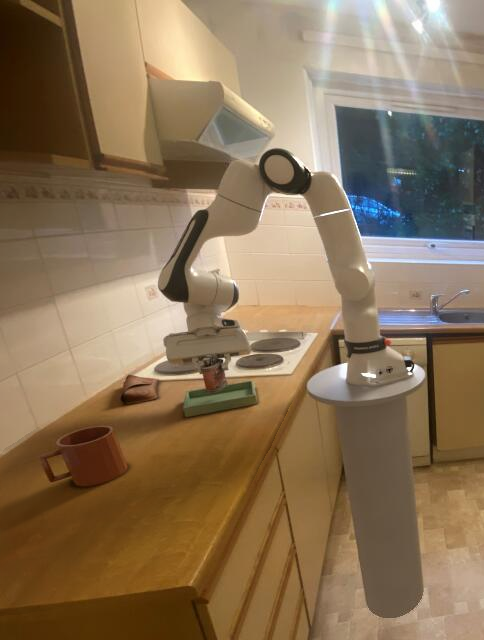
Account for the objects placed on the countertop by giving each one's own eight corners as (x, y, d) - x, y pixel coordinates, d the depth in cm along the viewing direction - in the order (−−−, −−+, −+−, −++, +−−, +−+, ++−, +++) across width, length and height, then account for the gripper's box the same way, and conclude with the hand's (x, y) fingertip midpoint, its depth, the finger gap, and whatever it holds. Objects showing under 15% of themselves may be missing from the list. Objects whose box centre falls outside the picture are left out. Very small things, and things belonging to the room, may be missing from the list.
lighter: (215, 393, 122) (208, 360, 118) (202, 393, 121) (195, 359, 117) (230, 382, 129) (224, 350, 125) (218, 382, 129) (212, 350, 125)
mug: (121, 459, 98) (107, 421, 95) (132, 472, 93) (117, 434, 90) (50, 482, 90) (31, 442, 86) (57, 499, 85) (37, 457, 81)
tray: (255, 388, 136) (253, 380, 135) (257, 403, 126) (255, 395, 125) (188, 399, 128) (186, 391, 127) (185, 417, 118) (182, 408, 117)
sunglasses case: (159, 397, 128) (138, 381, 124) (137, 413, 126) (115, 398, 122) (159, 378, 142) (141, 364, 137) (139, 393, 140) (120, 378, 135)
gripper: (159, 328, 119) (165, 373, 115) (244, 320, 129) (253, 360, 125) (165, 340, 124) (172, 382, 120) (247, 331, 134) (255, 370, 130)
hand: (214, 371), depth 123 cm, fingers closed on lighter, 4 cm apart
